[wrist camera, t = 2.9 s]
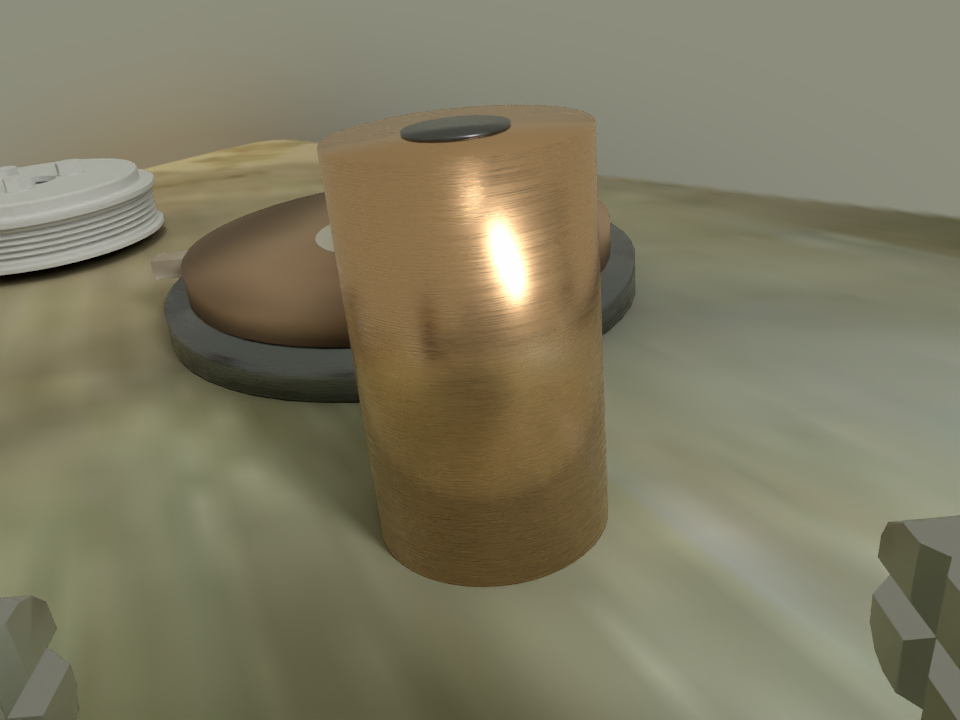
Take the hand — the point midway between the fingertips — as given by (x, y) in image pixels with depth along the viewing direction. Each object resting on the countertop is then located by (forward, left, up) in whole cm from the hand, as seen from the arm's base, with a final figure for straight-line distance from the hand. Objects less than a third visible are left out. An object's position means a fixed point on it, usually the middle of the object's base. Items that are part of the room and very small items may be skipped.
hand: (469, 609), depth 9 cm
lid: (+24, -43, -8) cm, 49 cm away
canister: (0, -13, -8) cm, 15 cm away
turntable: (+3, -29, -6) cm, 30 cm away
